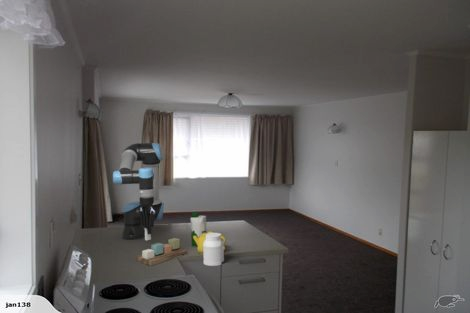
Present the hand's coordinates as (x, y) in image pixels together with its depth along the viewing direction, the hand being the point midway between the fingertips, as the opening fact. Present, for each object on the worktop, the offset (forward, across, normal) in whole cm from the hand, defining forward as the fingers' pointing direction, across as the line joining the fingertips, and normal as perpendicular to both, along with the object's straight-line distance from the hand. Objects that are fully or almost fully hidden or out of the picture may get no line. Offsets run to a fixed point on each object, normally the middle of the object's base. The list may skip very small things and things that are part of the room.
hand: (147, 239), depth 200 cm
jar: (+12, +30, +21) cm, 38 cm away
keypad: (+12, 0, +9) cm, 15 cm away
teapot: (+13, +14, +33) cm, 38 cm away
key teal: (+9, 0, +6) cm, 11 cm away
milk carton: (+13, 0, +38) cm, 40 cm away
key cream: (+11, 0, 0) cm, 11 cm away
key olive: (+9, 0, +18) cm, 20 cm away
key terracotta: (+11, 0, +12) cm, 16 cm away
